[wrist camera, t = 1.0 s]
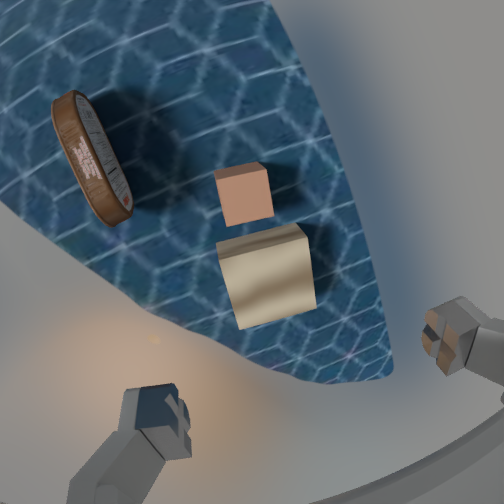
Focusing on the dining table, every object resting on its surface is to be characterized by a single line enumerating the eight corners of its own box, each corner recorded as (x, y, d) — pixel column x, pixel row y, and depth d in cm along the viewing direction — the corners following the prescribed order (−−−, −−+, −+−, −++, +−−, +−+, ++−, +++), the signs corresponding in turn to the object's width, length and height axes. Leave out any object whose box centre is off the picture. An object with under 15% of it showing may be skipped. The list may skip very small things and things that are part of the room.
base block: (215, 242, 38) (218, 260, 34) (294, 221, 39) (307, 236, 35) (234, 307, 43) (239, 329, 38) (304, 287, 44) (316, 308, 39)
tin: (69, 101, 28) (36, 100, 20) (92, 87, 28) (64, 82, 20) (121, 214, 35) (102, 242, 27) (144, 202, 35) (130, 228, 27)
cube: (213, 170, 35) (216, 180, 30) (257, 161, 35) (266, 169, 30) (222, 211, 37) (226, 226, 32) (264, 202, 37) (274, 215, 33)
